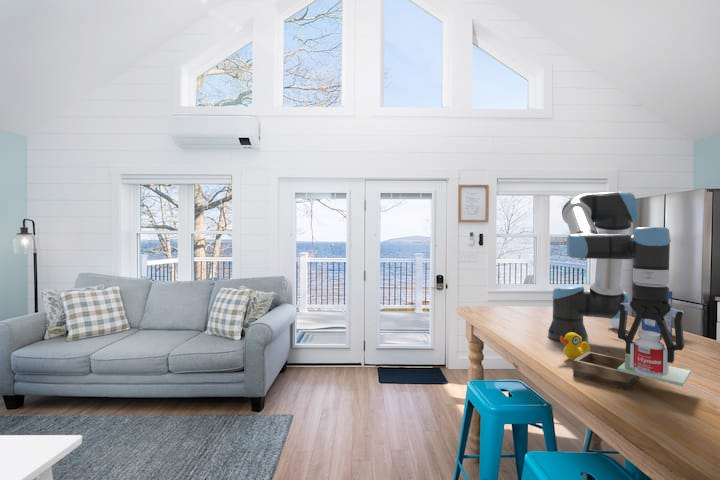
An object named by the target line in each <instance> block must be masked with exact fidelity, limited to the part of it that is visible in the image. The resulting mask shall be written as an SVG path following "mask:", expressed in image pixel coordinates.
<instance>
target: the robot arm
mask: <svg viewBox="0 0 720 480" xmlns="http://www.w3.org/2000/svg"><path fill="white" fill-rule="evenodd" d="M638 206H639V205H638V202H637V198H636V196H635V195H634V193H632V192H630V191H609V192H608V191H606V192H604V191H603V192H593V193H591V192H587V193H586V192H585V193H582V194H578V195H577V196H574V197H572V198H570V199H569V200H568V201H567V202H566V203H565V204H564V205H563V208H562V209H561V216H562V220H563V221H564V222H565V223H566V224H567V227H568V230H569V235H568V236H567V238H566V254H567V256H568V257H569V258H573V259H581V260H583V259H594V260H596V263H595V274H594V275H595V276H594V282H593V283H591V284H590V286H589V289H586V288H584V286H583V285H577V284H576V285H574V284H573V285H571V284H570V285H569V284H568V285H560V286H556V287H554V288H553V290H552V298H551V299H552V320H551V323H550V324H549V325H550V326H549V328H548V330H547V336H548V338H550V339H552V340H554V341H557V342H561V341H560V336H562V337H563V338H565V335H566V334H567V333H570V332H573V333H576V334H578V335H579V336H581V337H582V342H587V343H588V342H589V337H588V336H589V335H588V333H587V330H586V327H585V323H584V317H588V318H589V317H590V318H591V317H592V318H600V319H601V318H603V319H607V318H608V319H620V320H619V329H617V339H620V340H623V342H625V354H630V367H632V368H634V362H635V341H634V339H635V336H636V334H637V333H638V331H639V327H640V325H642V320H643V319H651V320H655V321H656V322H657V324H658V326H659V329H660V332H661V334H662V335H661V338H662V339H663V341H664V345H665V349H664V350H663V375H666V376H667V375H668V373H669V366H670V364H673V363H674V362H675V351H682V350H683V349H684V348H685V340H684V329H683V328H684V327H683V318H684V315H685V310H682V309H680V310H679V309H676V308H673V307H672V308H671V306H670V304H669V291H670V287H668V286H669V284H670V255H671V254H670V248H671V236H670V235H671V234H670V229H669V228H668V227H666V226H665V227H664V226H661V227H660V226H657V227H656V226H649V227H647V226H646V227H644V226H643V227H638V226H637V227H635V228H634V229H633V233H626V232H627V231H628V230H629V229H631V228H632V223H634V224H635V223H636V222H637V221H638V219H639V207H638ZM623 260H631V261H632V282H633V283H634V284H632V292H631V293H632V294H631V295H632V298H631V301H630V302H629V294H628V293H627V291H625V288H624V287H623V286H622V285H621V276H622V268H623ZM630 308H631V309H632V310H633V311H634V313H635V314H636V315H635V317H634V320H633V323H632V325H631V327H630V329H629V331H628V334H626V330H627V323H628V313H629V312H628V311H630V310H631V309H630ZM668 312H671V313H672V319H674V320H673V324H674V333H675V334H674V337H675V343H674V341H673V339H672V337H671V336H672V335H670V333H669V331H668V328H667V325H666V323H665V319H664V316H665V315H666V314H667V313H668ZM582 342H581V343H582Z"/></svg>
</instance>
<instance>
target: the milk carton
mask: <svg viewBox="0 0 720 480" xmlns="http://www.w3.org/2000/svg"><path fill="white" fill-rule="evenodd" d="M669 304H670V306H671V308H673V291H672V290H669ZM664 319H665V323H666V325H667V328H668V331H669V333H670V336H672V335H673V317H672V313H671V312H668V313H667V314H666V315H665V316H664ZM641 331H652V332H657V333H659V334H661V332H660V329H659V326H658V324H657V322H656V321H655V320H651V319H643V320H642V321H641ZM661 336H662V334H661Z"/></svg>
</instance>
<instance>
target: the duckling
mask: <svg viewBox="0 0 720 480" xmlns="http://www.w3.org/2000/svg"><path fill="white" fill-rule="evenodd" d="M559 342H561V343H562V344H564V345H565V346H564V347H563V354H564V355H565V356H566V357H567V358H568V360H571V361H573V360H575V359H576V358H578V357H580V356H581V355H583V354H585V353H586V352H588V351H589V352H591V346H590V344H589V343H588V342H582V337H581V336H579V335H578V334H576V333H573V332H570V333H567V334H566V335H565V338H563V337H562V336H560V341H559ZM581 342H582V343H581Z"/></svg>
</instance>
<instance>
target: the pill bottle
mask: <svg viewBox="0 0 720 480" xmlns="http://www.w3.org/2000/svg"><path fill="white" fill-rule="evenodd" d="M637 333H638V335H637V336H638V337H639V338H637V339H635V341H634V342H635V362H634V369H635V371H636V372H637V373H639V374H642V375H645V376H649V377H656V378H659V377H662V376H663V350H664V349H665V348H666V346H665V343H663V342H661V341H662V335H661V334H659V333H657V332H652V331H645V330H638V332H637Z"/></svg>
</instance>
